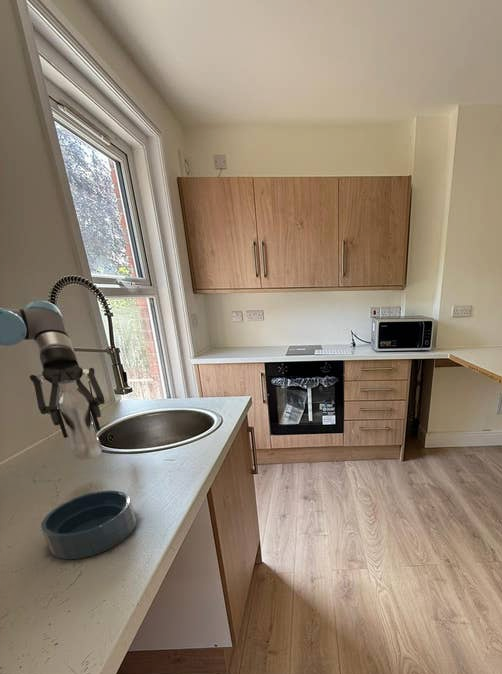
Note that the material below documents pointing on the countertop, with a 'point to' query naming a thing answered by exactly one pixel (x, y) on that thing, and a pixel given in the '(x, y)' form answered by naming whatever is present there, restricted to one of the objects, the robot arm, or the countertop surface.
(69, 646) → the countertop surface
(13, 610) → the countertop surface
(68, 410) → the plastic bottle
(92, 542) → the bowl
